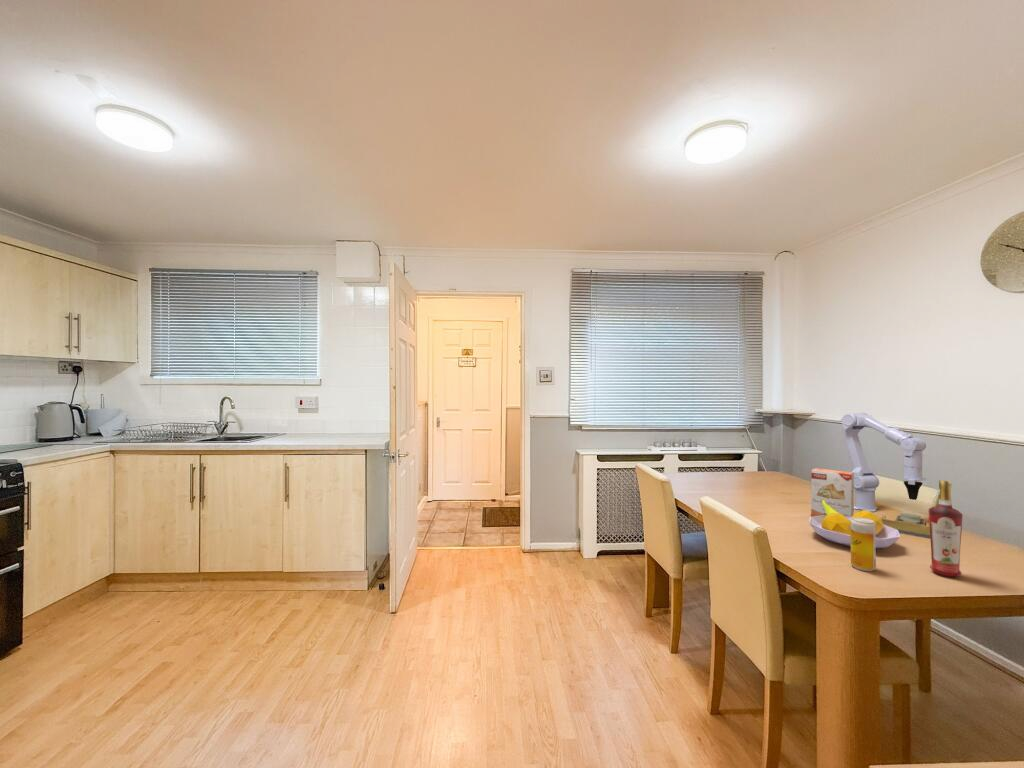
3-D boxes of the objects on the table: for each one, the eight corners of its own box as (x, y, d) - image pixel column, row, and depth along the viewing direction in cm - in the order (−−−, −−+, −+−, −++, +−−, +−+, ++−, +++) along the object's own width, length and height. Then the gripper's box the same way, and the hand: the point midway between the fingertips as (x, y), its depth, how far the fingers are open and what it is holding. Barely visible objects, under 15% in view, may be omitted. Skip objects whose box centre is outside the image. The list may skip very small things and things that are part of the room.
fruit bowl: (917, 560, 143) (917, 525, 143) (820, 550, 152) (820, 517, 152) (878, 532, 170) (878, 503, 170) (797, 525, 178) (796, 497, 179)
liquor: (961, 573, 133) (961, 481, 133) (963, 582, 127) (963, 485, 127) (928, 567, 138) (927, 477, 138) (929, 574, 132) (928, 481, 132)
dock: (883, 520, 185) (882, 510, 185) (942, 530, 172) (942, 519, 172) (877, 528, 174) (877, 518, 174) (941, 540, 161) (941, 529, 161)
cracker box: (810, 518, 188) (810, 469, 188) (813, 515, 192) (813, 467, 193) (851, 525, 178) (851, 473, 178) (854, 522, 183) (853, 471, 183)
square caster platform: (897, 521, 179) (897, 509, 179) (926, 526, 173) (926, 513, 173) (894, 527, 172) (894, 514, 172) (925, 532, 166) (925, 519, 166)
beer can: (851, 562, 141) (851, 515, 141) (875, 567, 137) (875, 519, 137) (850, 568, 137) (850, 520, 137) (875, 573, 133) (875, 524, 133)
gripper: (925, 470, 175) (925, 504, 175) (927, 465, 185) (927, 497, 185) (901, 467, 180) (901, 501, 180) (904, 463, 190) (904, 494, 190)
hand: (913, 499), depth 183 cm, fingers closed
